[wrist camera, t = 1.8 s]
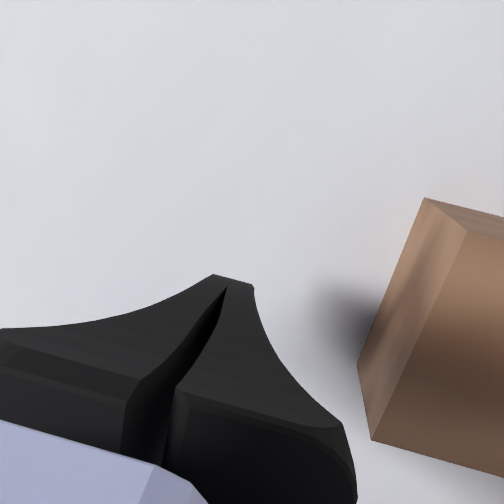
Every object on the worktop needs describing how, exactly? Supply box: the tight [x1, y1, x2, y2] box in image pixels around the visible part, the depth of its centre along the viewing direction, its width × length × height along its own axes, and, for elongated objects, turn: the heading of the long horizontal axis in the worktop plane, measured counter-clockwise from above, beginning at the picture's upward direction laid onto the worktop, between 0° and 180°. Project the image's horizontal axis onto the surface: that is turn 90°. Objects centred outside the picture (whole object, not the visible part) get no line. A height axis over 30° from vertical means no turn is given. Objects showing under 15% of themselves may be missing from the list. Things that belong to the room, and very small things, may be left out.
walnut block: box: [357, 198, 504, 478], centre depth 14 cm, size 8×5×4 cm, turn 167°
